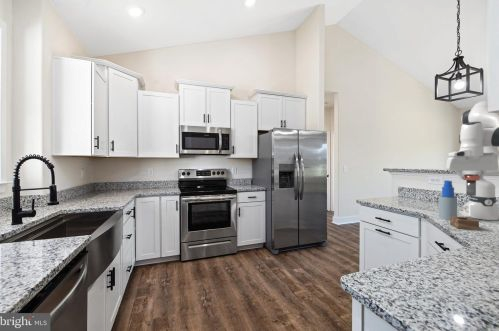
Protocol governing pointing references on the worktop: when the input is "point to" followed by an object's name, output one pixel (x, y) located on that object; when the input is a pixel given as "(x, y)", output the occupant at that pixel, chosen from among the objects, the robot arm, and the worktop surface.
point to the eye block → (464, 223)
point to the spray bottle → (447, 201)
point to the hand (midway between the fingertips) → (471, 179)
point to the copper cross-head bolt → (471, 183)
